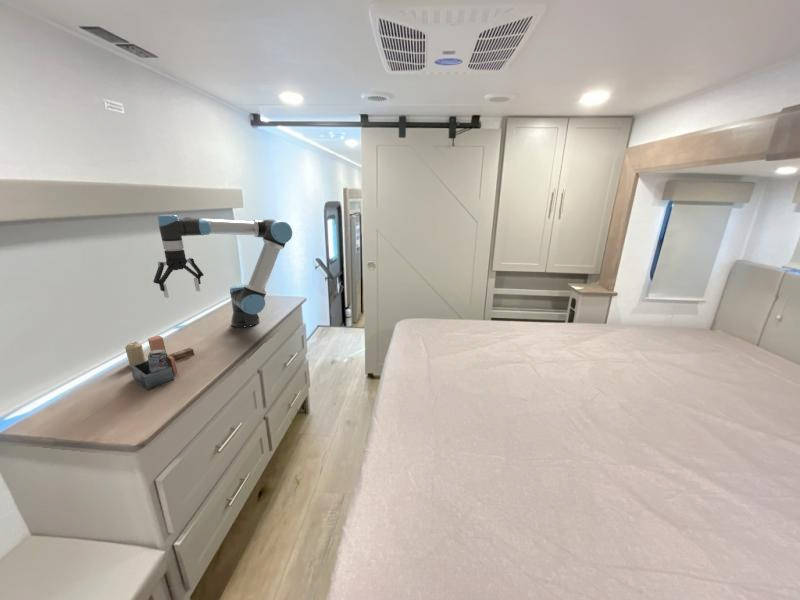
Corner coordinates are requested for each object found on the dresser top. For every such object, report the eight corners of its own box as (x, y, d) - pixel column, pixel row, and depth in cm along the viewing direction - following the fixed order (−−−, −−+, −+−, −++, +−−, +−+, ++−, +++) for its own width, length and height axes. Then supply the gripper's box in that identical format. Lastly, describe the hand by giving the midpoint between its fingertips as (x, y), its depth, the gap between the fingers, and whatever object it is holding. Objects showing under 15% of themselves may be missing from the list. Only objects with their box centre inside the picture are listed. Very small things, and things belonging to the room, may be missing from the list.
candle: (144, 359, 142) (138, 339, 139) (147, 363, 138) (142, 342, 135) (128, 363, 137) (123, 343, 134) (131, 367, 134) (126, 346, 131)
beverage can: (148, 383, 123) (142, 356, 119) (155, 374, 130) (149, 348, 126) (167, 381, 125) (161, 354, 121) (173, 372, 132) (167, 346, 128)
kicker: (164, 360, 139) (158, 335, 136) (181, 371, 131) (175, 344, 127) (154, 364, 136) (147, 338, 132) (170, 375, 128) (164, 348, 124)
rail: (191, 353, 148) (190, 347, 147) (194, 355, 146) (193, 349, 145) (151, 367, 135) (149, 360, 134) (154, 369, 133) (152, 363, 133)
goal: (159, 369, 133) (156, 357, 131) (174, 380, 126) (171, 367, 124) (133, 379, 126) (129, 366, 124) (147, 390, 119) (144, 377, 117)
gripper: (199, 246, 154) (206, 287, 161) (137, 252, 134) (148, 298, 141) (206, 247, 150) (213, 289, 157) (144, 253, 130) (155, 301, 137)
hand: (182, 294), depth 149 cm, fingers open, 13 cm apart
